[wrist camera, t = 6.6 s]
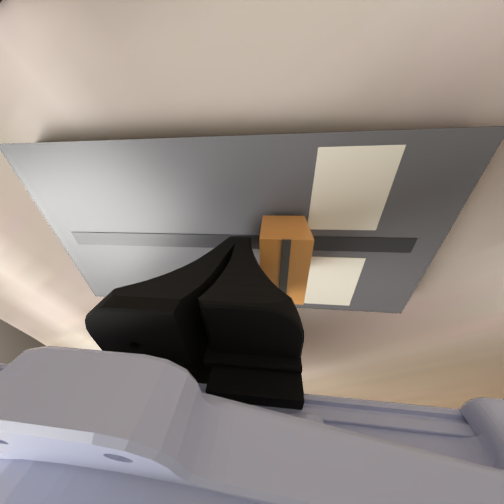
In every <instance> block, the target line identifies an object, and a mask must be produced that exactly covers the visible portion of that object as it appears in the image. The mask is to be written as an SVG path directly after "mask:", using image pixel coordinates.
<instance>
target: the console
mask: <svg viewBox="0 0 504 504" xmlns="http://www.w3.org/2000/svg"><path fill="white" fill-rule="evenodd" d="M503 138H504V126H493V127H464V128H436V129H408V130H380V131H352V132H323V133H295V134H267V135H239V136H210V137H182V138H154V139H126V140H97V141H69V142H41V143H13V144H0V150H1V152H2V153H3V155H4V157H5V158H6V160H7V161H8V163H9V164H10V166H11V167H12V169H13V170H14V172H15V173H16V175H17V177H18V178H19V180H20V181H21V183H22V184H23V186H24V187H25V189H26V190H27V192H28V193H29V195H30V196H31V198H32V200H33V201H34V203H35V204H36V206H37V207H38V209H39V210H40V212H41V213H42V215H43V216H44V218H45V220H46V221H47V223H48V224H49V226H50V227H51V229H52V230H53V232H54V233H55V235H56V236H57V238H58V239H59V241H60V243H61V244H62V246H63V247H64V249H65V250H66V252H67V253H68V255H69V256H70V258H71V259H72V261H73V262H74V264H75V266H76V267H77V269H78V270H79V272H80V273H81V275H82V276H83V278H84V279H85V281H86V282H87V284H88V286H89V287H90V289H91V290H92V292H93V293H94V295H95V296H100V297H106V296H107V295H108V294H109V293H110V292H111V291H112V290H113V289H115V288H119V287H123V286H127V285H131V284H135V283H139V282H142V281H146V280H149V279H152V278H155V277H158V276H161V275H164V274H167V273H169V272H172V271H174V270H176V269H179V268H181V267H183V266H185V265H187V264H189V263H191V262H193V261H195V260H197V259H199V258H200V257H202V256H203V255H205V254H206V253H208V252H209V251H211V250H212V249H214V248H215V247H217V246H218V245H219V244H221V243H222V242H223V241H224V240H226V239H227V238H229V237H230V236H248V237H251V240H252V250H253V253H254V256H255V258H256V260H257V262H258V264H259V265H260V254H259V238H260V231H261V224H262V217H263V215H274V216H305V218H306V221H307V223H308V225H309V228H310V230H311V233H312V235H313V238H314V246H313V252H312V258H311V264H310V270H309V276H308V282H307V287H306V293H305V299H304V305H299V304H295V306H296V308H313V309H331V310H349V311H367V312H384V313H401V312H402V311H403V309H404V307H405V306H406V304H407V302H408V301H409V299H410V297H411V295H412V294H413V292H414V290H415V289H416V287H417V285H418V283H419V282H420V280H421V278H422V277H423V275H424V273H425V271H426V270H427V268H428V266H429V265H430V263H431V261H432V259H433V258H434V256H435V254H436V253H437V251H438V249H439V247H440V246H441V244H442V242H443V241H444V239H445V237H446V235H447V234H448V232H449V230H450V229H451V227H452V225H453V223H454V222H455V220H456V218H457V217H458V215H459V213H460V211H461V210H462V208H463V206H464V205H465V203H466V201H467V199H468V198H469V196H470V194H471V193H472V191H473V189H474V187H475V186H476V184H477V182H478V181H479V179H480V177H481V176H482V174H483V172H484V170H485V169H486V167H487V165H488V164H489V162H490V160H491V158H492V157H493V155H494V153H495V152H496V150H497V148H498V146H499V145H500V143H501V141H502V140H503Z"/></svg>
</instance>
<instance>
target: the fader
mask: <svg viewBox="0 0 504 504" xmlns="http://www.w3.org/2000/svg"><path fill="white" fill-rule="evenodd" d="M313 246H314V238H313V235H312V233H311V230H310V228H309V225H308V223H307V221H306V218H305V216H274V215H263V217H262V224H261V231H260V238H259V254H260V267H261V269H262V270H263V271H264V273H265V274H266V275H267V277H268V278H269V279H270V280H271V281H272V282H273V283H274V284H275V285H276V286H277V287H278V288H279V289H280V290H282V291H283V292H284V293H286V294H287V295H288V296H290V297H291V298H292V300H293V302H294V304H299V305H304V299H305V293H306V287H307V282H308V276H309V270H310V264H311V258H312V252H313Z"/></svg>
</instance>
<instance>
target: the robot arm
mask: <svg viewBox="0 0 504 504" xmlns="http://www.w3.org/2000/svg"><path fill="white" fill-rule="evenodd" d="M85 324H86V329H87V331H88V332H89V334H90V335H91V337H92V338H93V339H94V340H95V342H96V343H97V344H98V345H99V347H100V348H101V349H102V351H100V350H89V349H77V348H65V347H54V346H47V347H39V348H32V349H27V350H25V351H24V352H23V353H22V354H20V355H19V356H18V357H17V358H16V359H14V360H13V361H12V362H11V363H10V364H2V363H0V504H504V399H498V398H475V399H471V400H469V401H467V402H465V403H464V404H463V405H462V406H461V408H460V409H452V408H442V407H432V406H422V405H412V404H402V403H392V402H382V401H372V400H362V399H352V398H342V397H332V396H322V395H312V394H304V393H303V384H302V376H301V373H302V363H301V353H302V348H303V343H304V330H303V326H302V322H301V319H300V316H299V313H298V311H297V309H296V306H295V304H294V302H293V300H292V298H291V297H290V296H288V295H287V294H286V293H284V292H283V291H282V290H280V289H279V288H278V287H277V286H276V285H275V284H274V283H273V282H272V281H271V280H270V279H269V278H268V277H267V275H266V274H265V273H264V271H263V270H262V269H261V267H260V265H259V264H258V262H257V260H256V258H255V256H254V253H253V250H252V240H251V237H248V236H230V237H229V238H227V239H226V240H224V241H223V242H222V243H221V244H219V245H218V246H217V247H215V248H214V249H212V250H211V251H209V252H208V253H206V254H205V255H203V256H202V257H200V258H199V259H197V260H195V261H193V262H191V263H189V264H187V265H185V266H183V267H181V268H179V269H176V270H174V271H172V272H169V273H167V274H164V275H161V276H158V277H155V278H152V279H149V280H146V281H142V282H139V283H135V284H131V285H127V286H123V287H119V288H115V289H113V290H112V291H111V292H110V293H109V294H108V295H107V296H106V297H105V298H104V299H103V300H102V301H101V302H100V303H99V304H98V305H96V306H95V307H94V308H93V309H92V310H91V311H90V312H89V313H88V314H87V315H86V319H85Z"/></svg>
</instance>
